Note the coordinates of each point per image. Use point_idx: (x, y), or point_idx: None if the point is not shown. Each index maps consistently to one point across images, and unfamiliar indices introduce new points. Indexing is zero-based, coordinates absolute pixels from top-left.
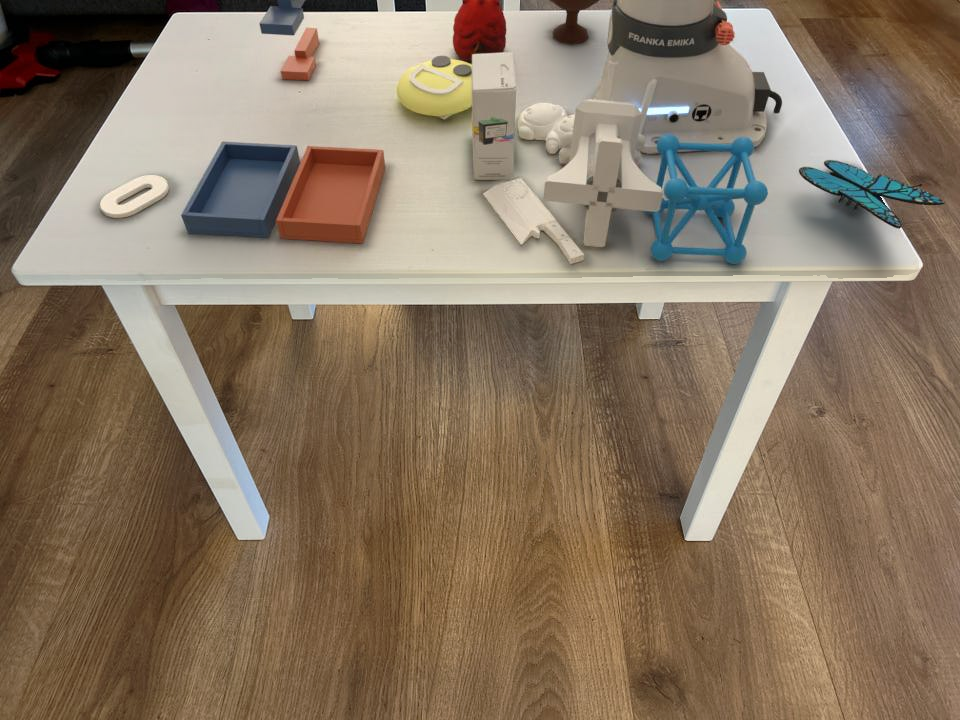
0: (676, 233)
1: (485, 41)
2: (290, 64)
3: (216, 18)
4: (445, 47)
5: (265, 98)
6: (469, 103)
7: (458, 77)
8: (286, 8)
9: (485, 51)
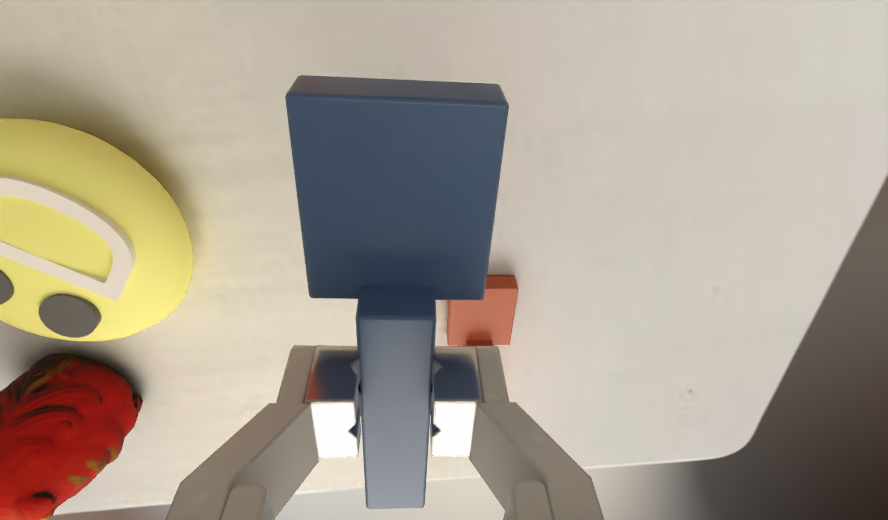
0: None
1: (5, 400)
2: (499, 314)
3: (676, 449)
4: (181, 407)
5: (543, 197)
6: None
7: None
8: (392, 285)
9: (22, 380)
